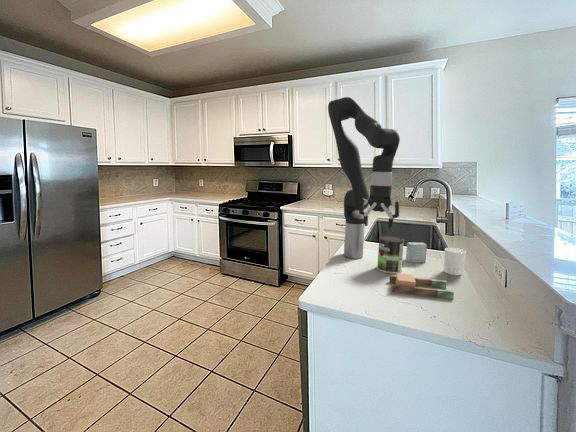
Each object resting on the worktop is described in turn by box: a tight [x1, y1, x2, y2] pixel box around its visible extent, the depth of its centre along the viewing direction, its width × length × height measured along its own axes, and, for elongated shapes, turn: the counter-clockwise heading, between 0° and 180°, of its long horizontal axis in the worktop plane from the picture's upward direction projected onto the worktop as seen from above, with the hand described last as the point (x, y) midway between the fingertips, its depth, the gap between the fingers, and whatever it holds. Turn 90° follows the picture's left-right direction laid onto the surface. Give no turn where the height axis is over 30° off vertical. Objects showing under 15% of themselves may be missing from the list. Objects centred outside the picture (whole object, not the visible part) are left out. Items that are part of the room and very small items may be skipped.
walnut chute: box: [389, 275, 455, 300], centre depth 106 cm, size 20×10×2 cm, turn 75°
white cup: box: [443, 247, 467, 276], centre depth 122 cm, size 8×8×10 cm
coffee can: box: [376, 235, 405, 275], centre depth 125 cm, size 10×10×14 cm
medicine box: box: [405, 241, 428, 263], centre depth 137 cm, size 8×4×9 cm, turn 84°
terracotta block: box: [394, 273, 417, 287], centre depth 107 cm, size 6×7×4 cm
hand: (377, 227), depth 109 cm, fingers open, 8 cm apart
